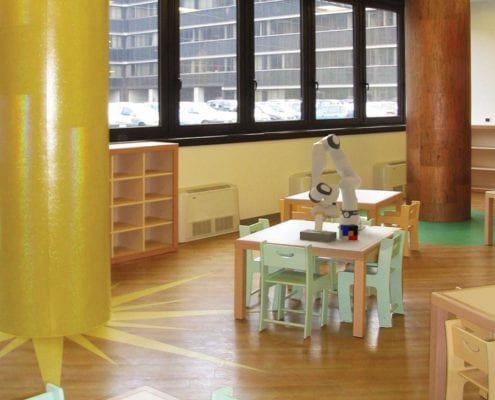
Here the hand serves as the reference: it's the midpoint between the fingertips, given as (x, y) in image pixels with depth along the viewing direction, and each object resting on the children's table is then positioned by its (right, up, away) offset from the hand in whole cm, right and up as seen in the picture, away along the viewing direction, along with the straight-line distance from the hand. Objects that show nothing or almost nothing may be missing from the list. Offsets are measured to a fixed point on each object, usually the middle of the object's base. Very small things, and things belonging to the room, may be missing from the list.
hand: (321, 221), depth 571 cm
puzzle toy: (+18, -12, -4) cm, 22 cm away
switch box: (-3, -12, -4) cm, 13 cm away
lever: (-3, -7, -4) cm, 9 cm away
